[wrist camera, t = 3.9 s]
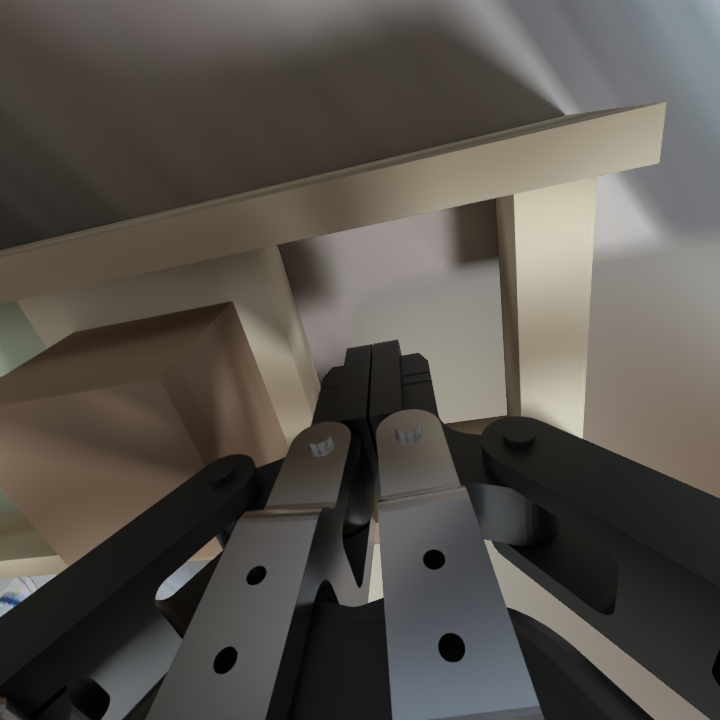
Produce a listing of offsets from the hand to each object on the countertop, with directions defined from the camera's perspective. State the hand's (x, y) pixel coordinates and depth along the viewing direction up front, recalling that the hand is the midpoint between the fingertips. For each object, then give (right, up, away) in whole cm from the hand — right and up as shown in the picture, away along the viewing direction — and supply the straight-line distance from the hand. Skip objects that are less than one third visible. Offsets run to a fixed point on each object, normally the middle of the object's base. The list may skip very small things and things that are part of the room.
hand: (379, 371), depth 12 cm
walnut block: (-6, -1, +2) cm, 7 cm away
